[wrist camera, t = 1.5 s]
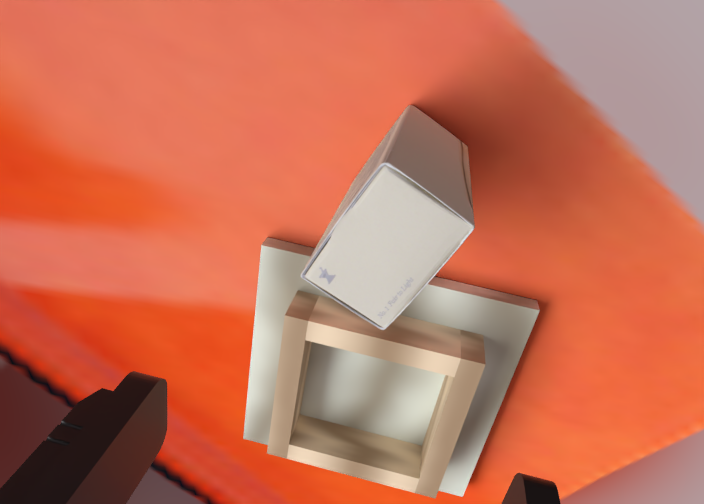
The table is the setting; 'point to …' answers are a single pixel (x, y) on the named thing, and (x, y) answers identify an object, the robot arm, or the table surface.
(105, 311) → the table surface
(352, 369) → the square collar plate
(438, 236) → the skincare box
